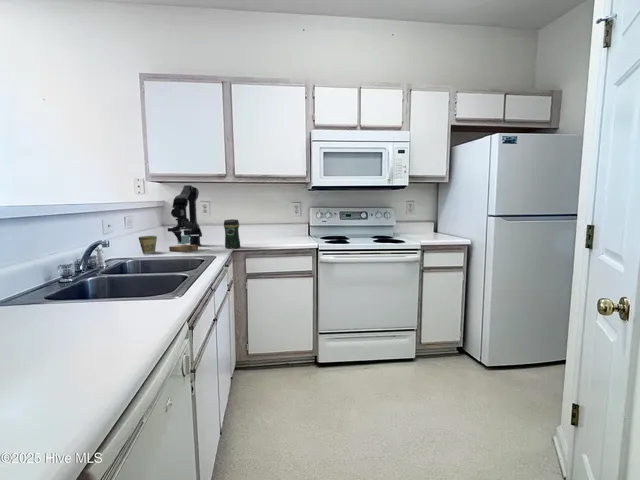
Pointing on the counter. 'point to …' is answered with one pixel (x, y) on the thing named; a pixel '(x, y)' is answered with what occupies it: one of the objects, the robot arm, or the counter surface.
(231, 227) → the coffee jar
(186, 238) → the teal cube
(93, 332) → the counter surface
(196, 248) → the walnut plinth
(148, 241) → the ceramic cup
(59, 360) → the counter surface
